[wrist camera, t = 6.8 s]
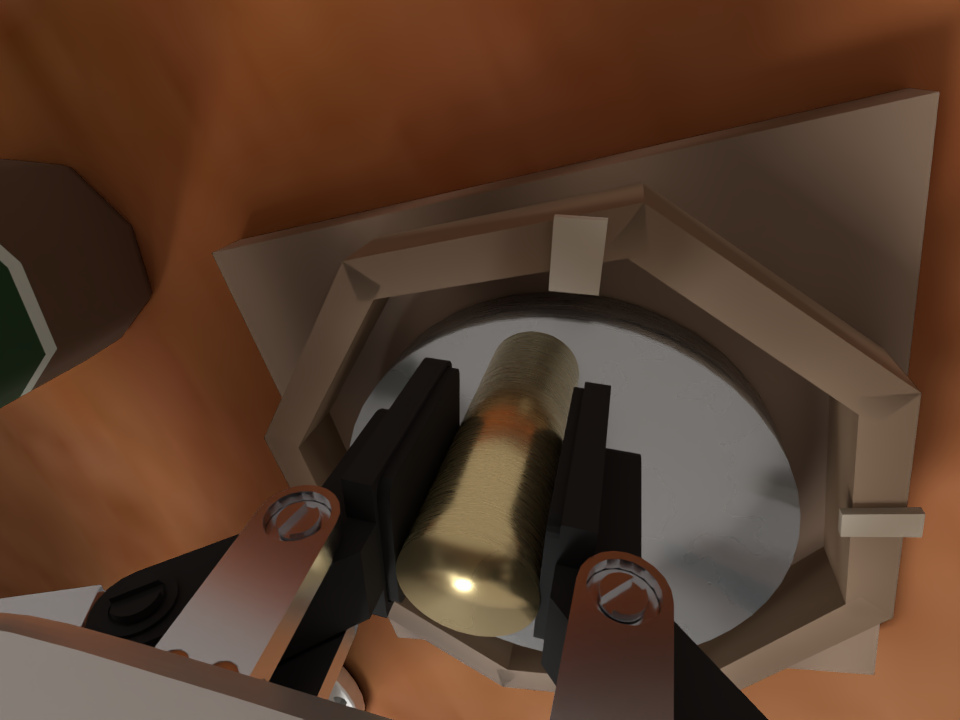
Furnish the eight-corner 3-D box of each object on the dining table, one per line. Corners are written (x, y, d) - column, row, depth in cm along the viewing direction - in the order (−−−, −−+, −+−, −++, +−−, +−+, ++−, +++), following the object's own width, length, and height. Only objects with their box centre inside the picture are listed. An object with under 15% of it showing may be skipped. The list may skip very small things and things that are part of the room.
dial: (760, 633, 20) (837, 987, 12) (414, 590, 24) (313, 839, 16) (814, 279, 13) (1045, 567, 6) (328, 301, 17) (94, 491, 10)
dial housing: (408, 610, 28) (377, 686, 24) (239, 239, 19) (157, 278, 16) (859, 637, 21) (901, 746, 18) (908, 87, 12) (1008, 99, 9)
